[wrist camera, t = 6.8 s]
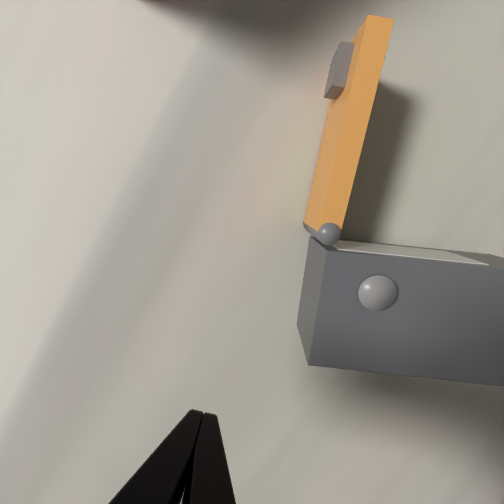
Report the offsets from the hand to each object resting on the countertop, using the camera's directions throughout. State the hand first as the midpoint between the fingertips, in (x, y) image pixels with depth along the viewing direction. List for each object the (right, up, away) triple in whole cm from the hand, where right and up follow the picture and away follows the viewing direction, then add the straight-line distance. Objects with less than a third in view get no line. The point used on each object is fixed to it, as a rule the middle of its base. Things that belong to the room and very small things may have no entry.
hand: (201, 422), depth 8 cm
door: (+6, +12, +9) cm, 16 cm away
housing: (+12, +2, +11) cm, 17 cm away
